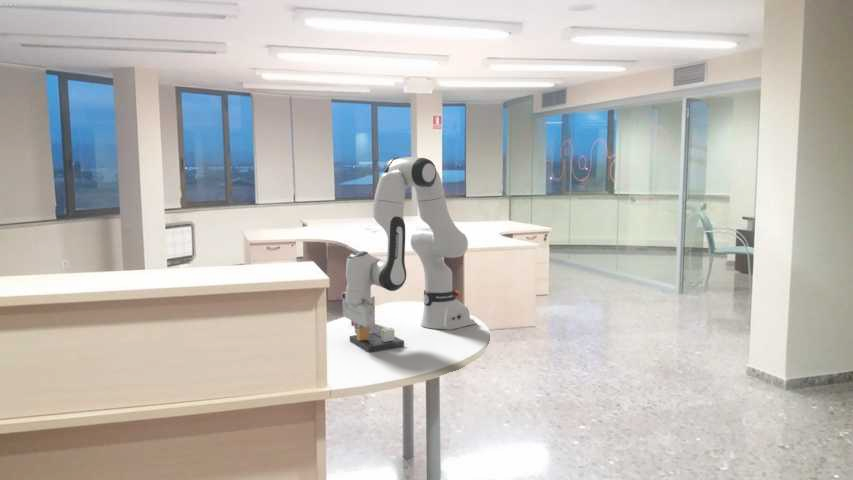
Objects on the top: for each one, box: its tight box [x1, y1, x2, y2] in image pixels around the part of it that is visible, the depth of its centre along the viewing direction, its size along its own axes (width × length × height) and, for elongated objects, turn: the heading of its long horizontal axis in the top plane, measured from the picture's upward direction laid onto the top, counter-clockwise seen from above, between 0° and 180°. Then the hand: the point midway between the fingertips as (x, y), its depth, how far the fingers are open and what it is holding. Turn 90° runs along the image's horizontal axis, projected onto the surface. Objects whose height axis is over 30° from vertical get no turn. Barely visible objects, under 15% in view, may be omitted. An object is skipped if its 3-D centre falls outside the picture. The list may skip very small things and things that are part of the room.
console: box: [349, 331, 405, 353], centre depth 235 cm, size 14×16×2 cm
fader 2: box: [380, 327, 395, 342], centre depth 231 cm, size 4×2×4 cm, turn 121°
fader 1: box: [356, 327, 371, 341], centre depth 232 cm, size 4×2×4 cm, turn 121°
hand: (358, 334), depth 235 cm, fingers closed
